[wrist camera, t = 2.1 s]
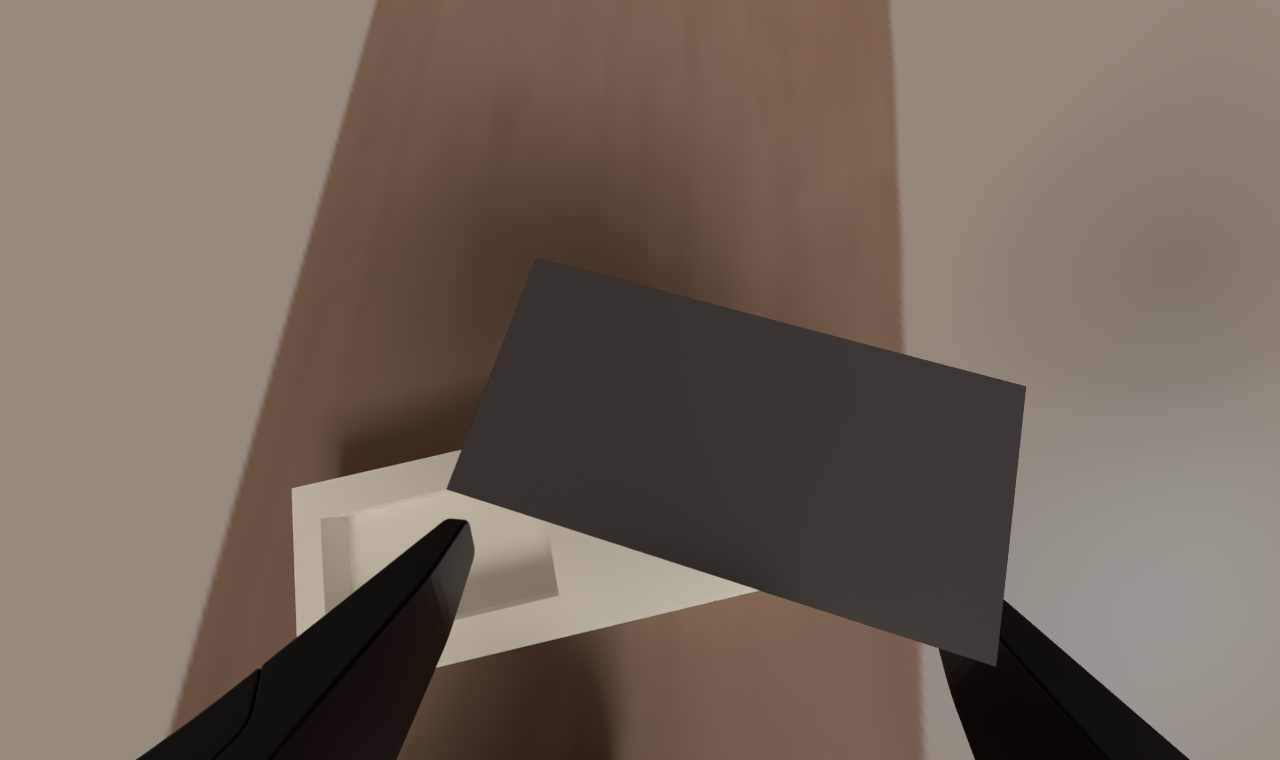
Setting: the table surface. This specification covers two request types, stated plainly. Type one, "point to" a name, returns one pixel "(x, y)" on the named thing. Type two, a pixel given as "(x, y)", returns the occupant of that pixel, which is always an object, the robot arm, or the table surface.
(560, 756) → the table surface
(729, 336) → the charcoal grey box
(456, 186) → the table surface
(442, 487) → the recessed rectangular block
